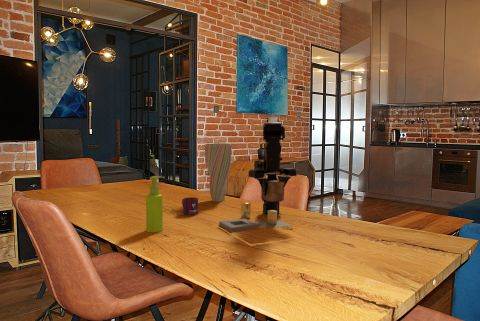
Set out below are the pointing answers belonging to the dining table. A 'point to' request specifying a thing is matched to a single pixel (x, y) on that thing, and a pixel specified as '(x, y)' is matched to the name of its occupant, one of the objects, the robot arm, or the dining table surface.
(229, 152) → the vase
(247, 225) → the socket board
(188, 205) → the mug
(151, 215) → the soap dispenser
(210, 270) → the dining table surface
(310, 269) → the dining table surface
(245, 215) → the pin
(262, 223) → the board
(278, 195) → the box
